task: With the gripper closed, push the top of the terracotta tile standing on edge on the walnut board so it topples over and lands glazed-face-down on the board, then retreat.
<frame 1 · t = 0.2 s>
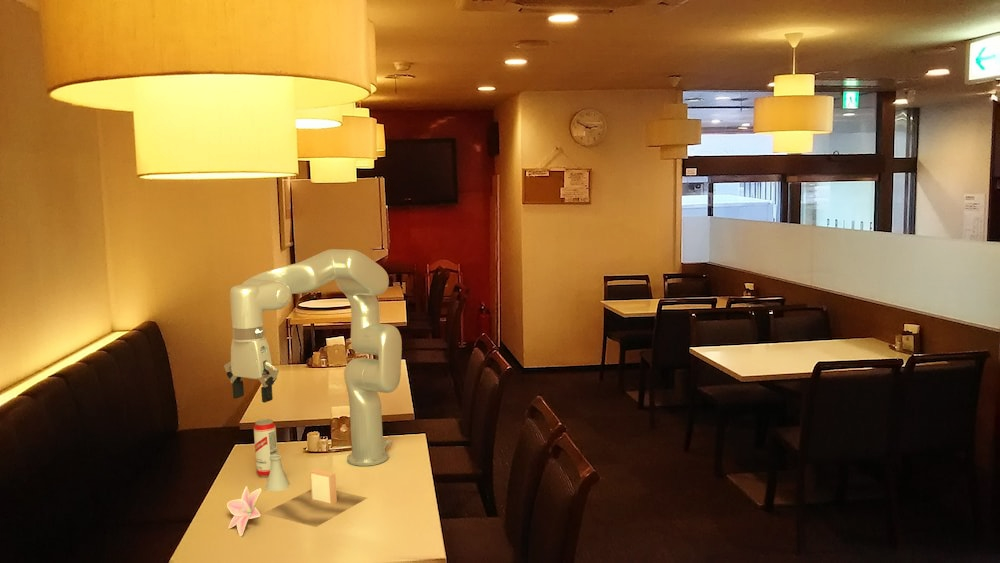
hand: (252, 399, 210), 31 cm above the table, tool pointing down, fingers open, 9 cm apart
lily: (246, 527, 206), on the table
flask: (277, 491, 229), on the table
tile: (324, 501, 218), point 1 cm above the table, touching board
board: (316, 509, 215), on the table
beer can: (267, 474, 242), on the table
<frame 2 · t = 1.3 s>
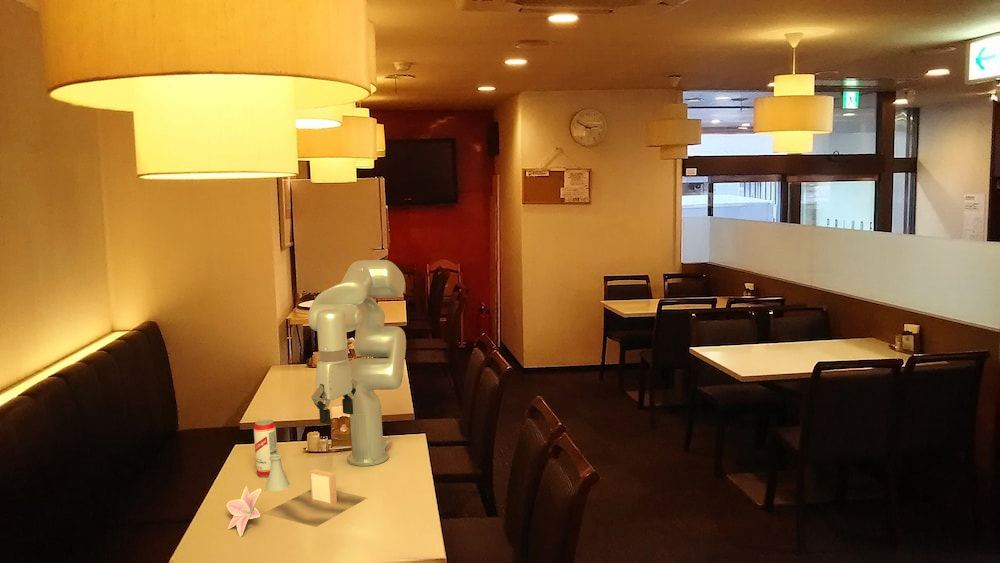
hand: (336, 418, 221), 22 cm above the table, tool pointing down, fingers open, 8 cm apart
nothing on the table moved.
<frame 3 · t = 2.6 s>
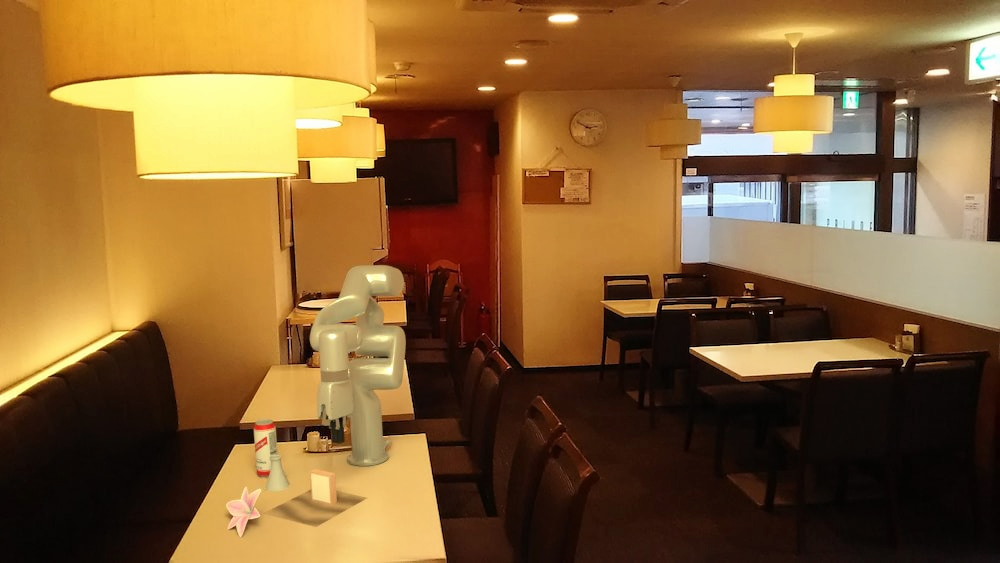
hand: (338, 442, 221), 16 cm above the table, tool pointing down, fingers closed
nothing on the table moved.
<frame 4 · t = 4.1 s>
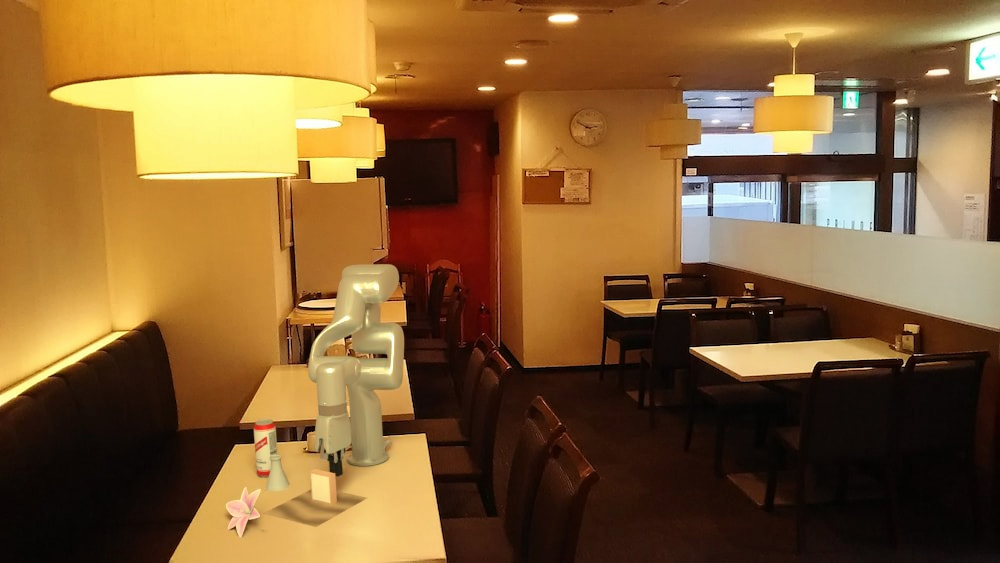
hand: (336, 474, 221), 7 cm above the table, tool pointing down, fingers closed
nothing on the table moved.
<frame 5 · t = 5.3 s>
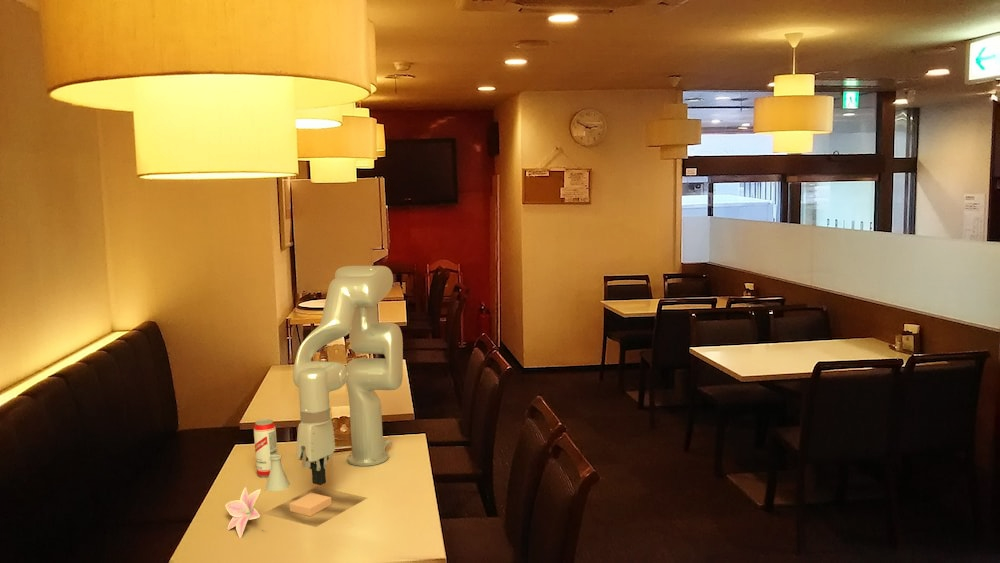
hand: (319, 483, 216), 7 cm above the table, tool pointing down, fingers closed
tile: (321, 498, 217), point 2 cm above the table, tilted 90°, touching board
everything else where it was.
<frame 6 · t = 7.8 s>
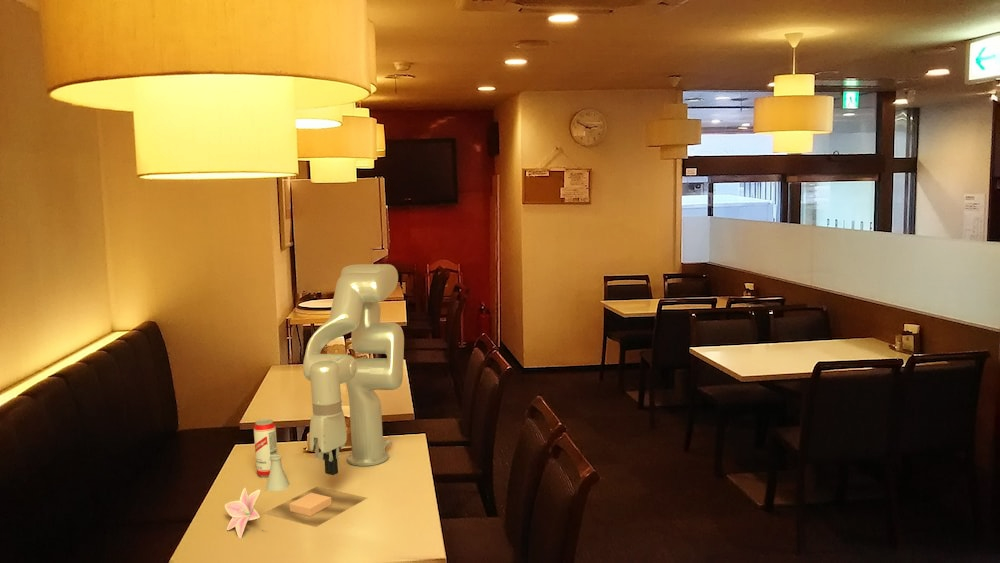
hand: (331, 473, 220), 8 cm above the table, tool pointing down, fingers closed
nothing on the table moved.
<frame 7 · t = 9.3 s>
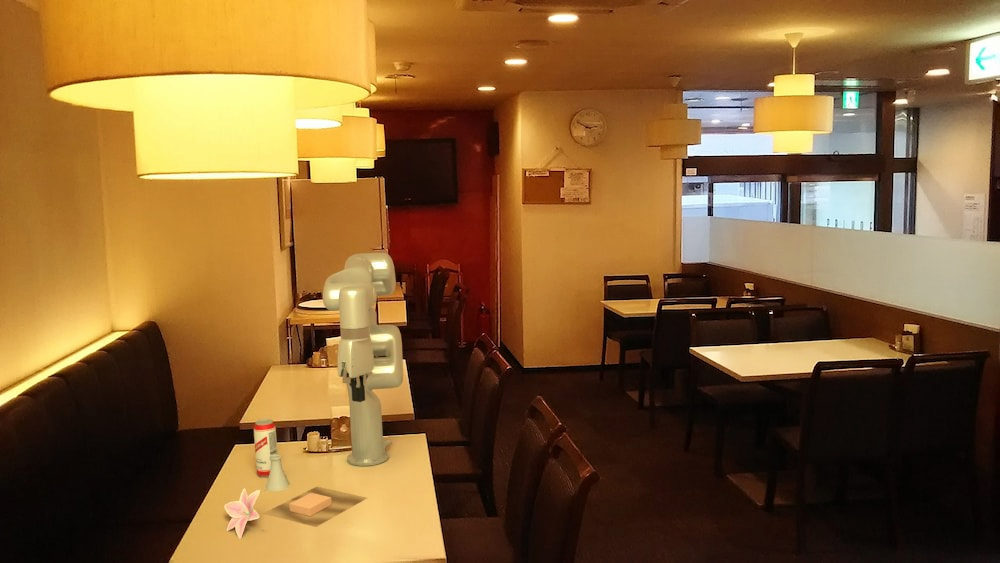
hand: (358, 400, 219), 27 cm above the table, tool pointing down, fingers closed
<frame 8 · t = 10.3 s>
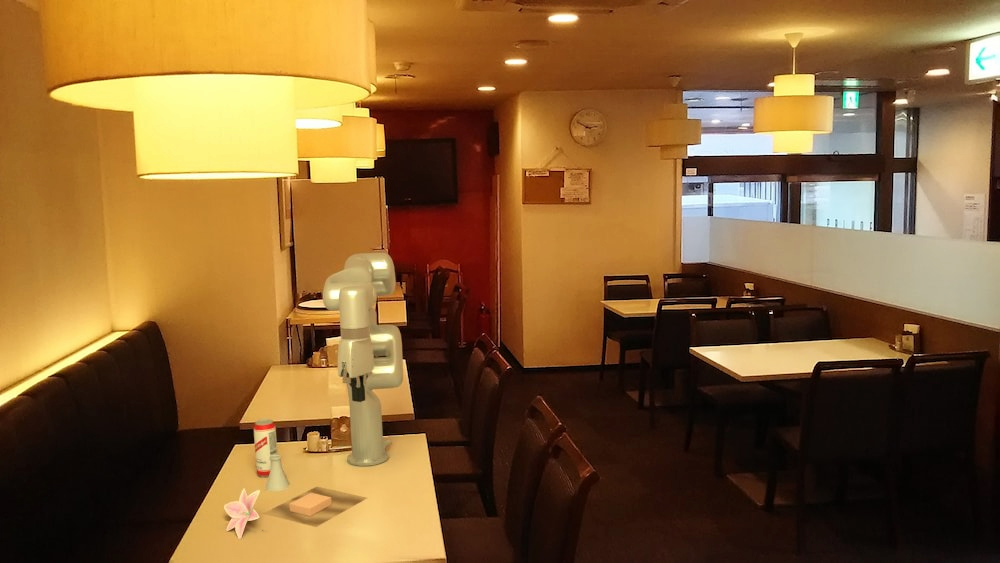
hand: (358, 400, 219), 27 cm above the table, tool pointing down, fingers closed
at the end: tile tilted 90°; tile inside the target area (3.9 cm from its centre), point 2.3 cm above the table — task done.
